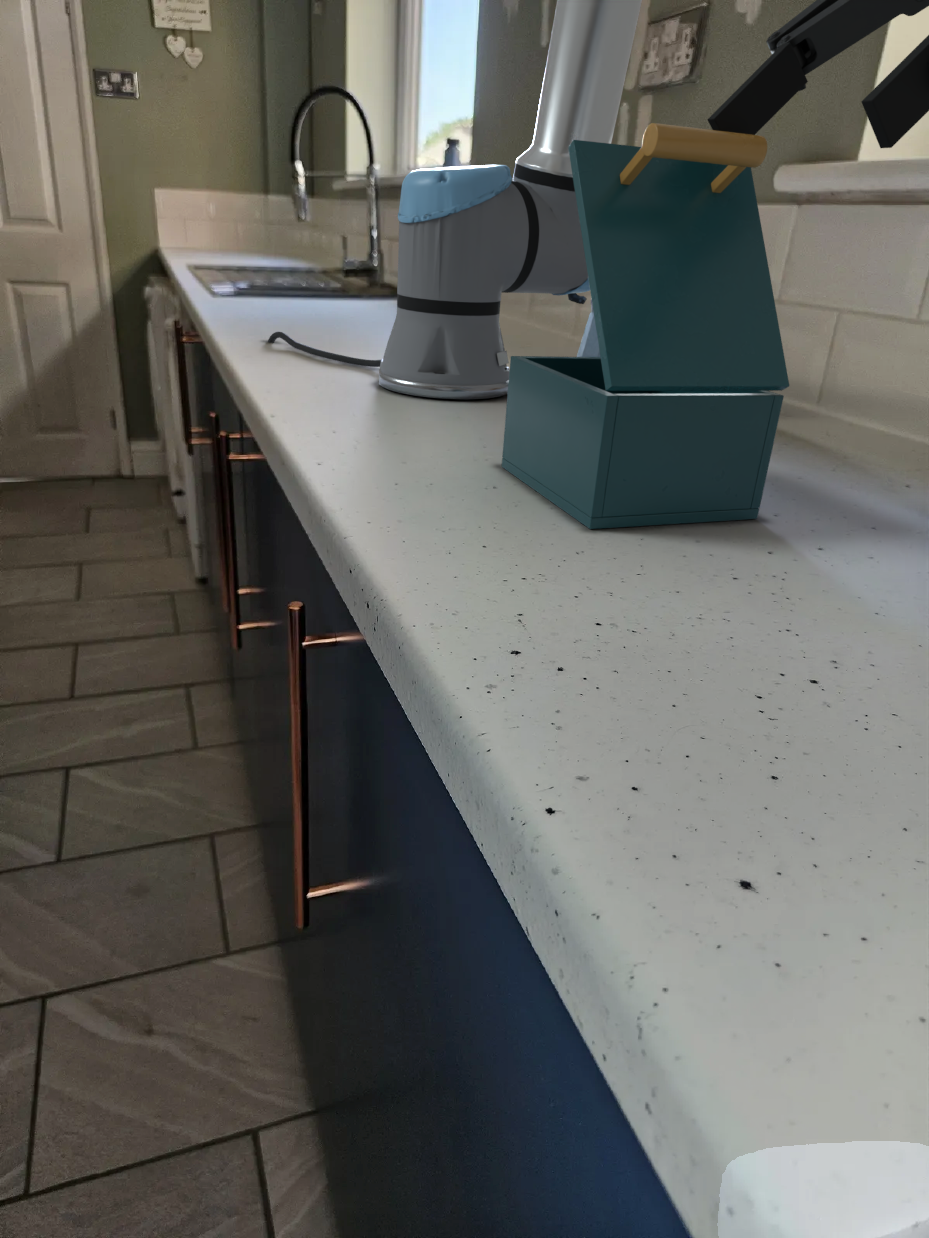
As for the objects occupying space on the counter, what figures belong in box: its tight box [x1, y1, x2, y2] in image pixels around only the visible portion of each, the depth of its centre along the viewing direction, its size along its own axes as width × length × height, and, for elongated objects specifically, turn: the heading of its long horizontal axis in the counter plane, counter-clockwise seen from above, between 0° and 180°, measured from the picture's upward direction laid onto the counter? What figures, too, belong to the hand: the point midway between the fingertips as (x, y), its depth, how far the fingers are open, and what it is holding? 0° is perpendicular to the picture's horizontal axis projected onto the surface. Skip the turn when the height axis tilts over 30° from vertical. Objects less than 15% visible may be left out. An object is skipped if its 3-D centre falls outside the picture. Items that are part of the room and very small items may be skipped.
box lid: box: [568, 122, 790, 392], centre depth 55 cm, size 16×14×6 cm
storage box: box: [501, 355, 784, 530], centre depth 65 cm, size 16×14×9 cm
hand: (788, 133), depth 50 cm, fingers open, 13 cm apart
